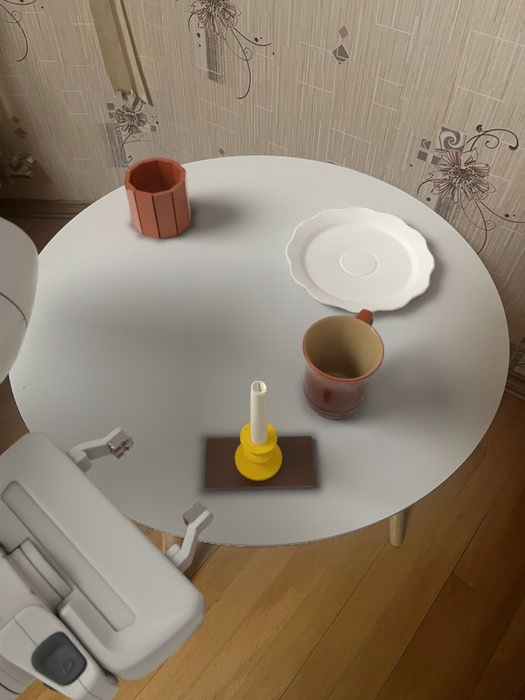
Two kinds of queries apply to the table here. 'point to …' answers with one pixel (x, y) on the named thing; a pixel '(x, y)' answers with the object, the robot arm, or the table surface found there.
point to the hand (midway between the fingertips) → (165, 470)
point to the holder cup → (158, 197)
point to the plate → (360, 259)
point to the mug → (340, 363)
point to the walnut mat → (289, 476)
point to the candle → (258, 440)
